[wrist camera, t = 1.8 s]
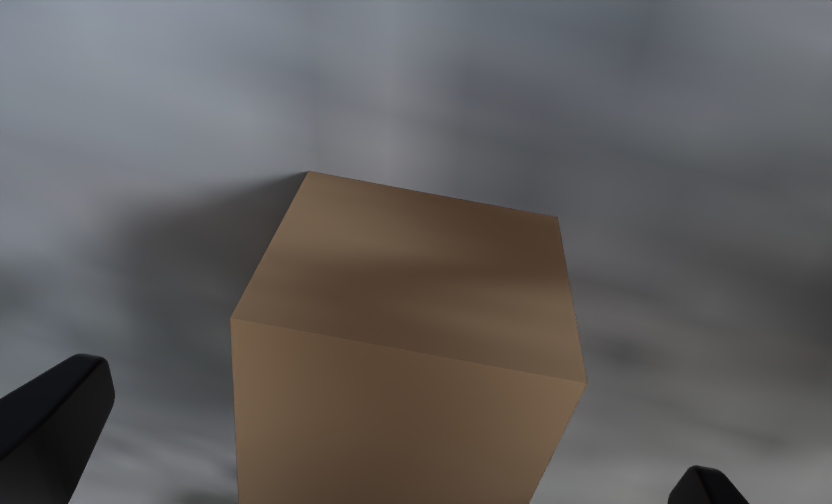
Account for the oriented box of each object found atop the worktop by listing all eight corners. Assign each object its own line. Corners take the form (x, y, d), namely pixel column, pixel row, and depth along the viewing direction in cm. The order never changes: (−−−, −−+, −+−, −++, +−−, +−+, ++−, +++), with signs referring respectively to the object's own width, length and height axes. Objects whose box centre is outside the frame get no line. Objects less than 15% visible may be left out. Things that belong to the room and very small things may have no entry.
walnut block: (557, 214, 11) (587, 383, 7) (498, 381, 13) (501, 560, 10) (309, 168, 10) (230, 317, 7) (300, 344, 13) (238, 512, 10)
